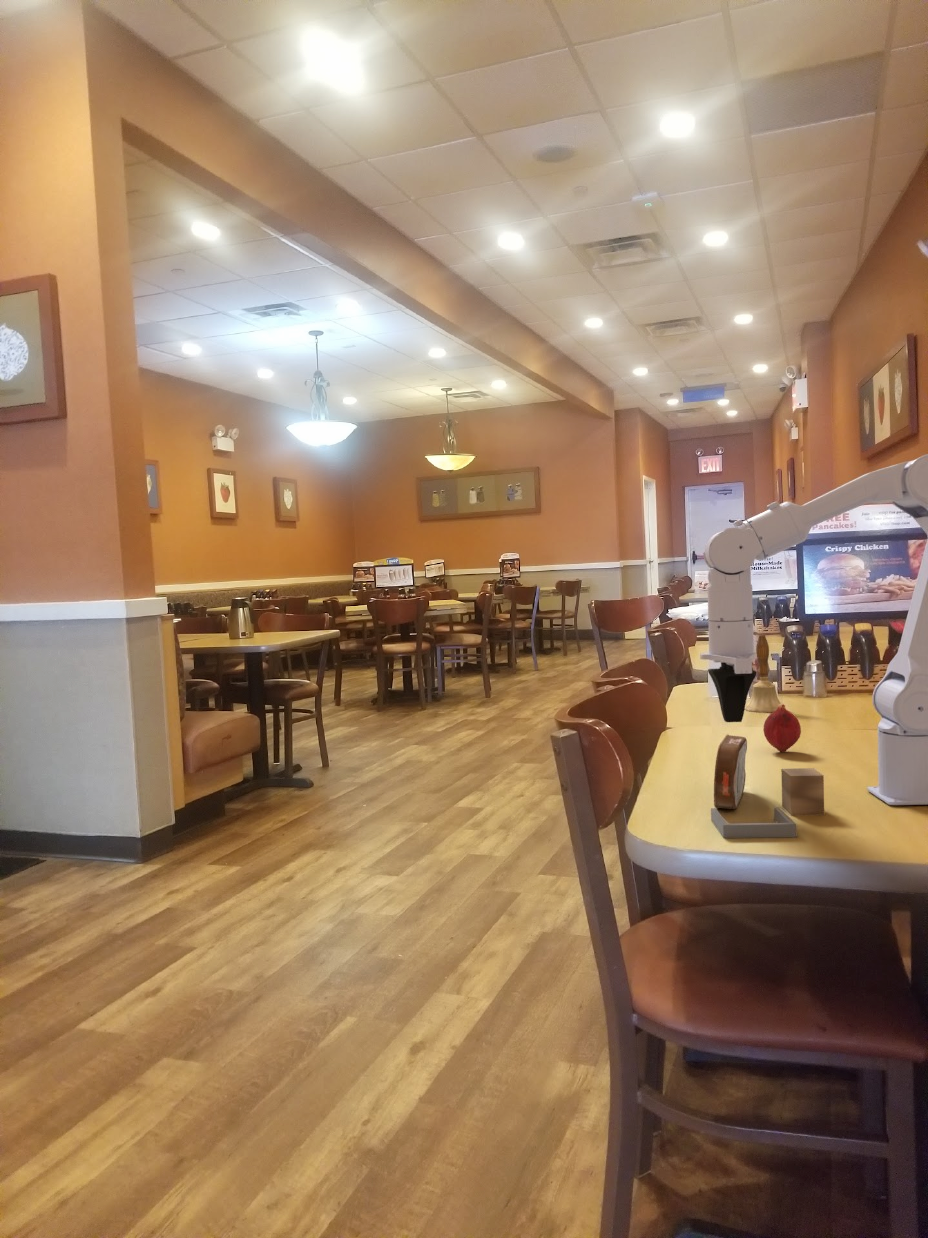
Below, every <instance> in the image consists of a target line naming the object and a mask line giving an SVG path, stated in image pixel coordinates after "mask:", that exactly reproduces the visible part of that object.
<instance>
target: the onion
mask: <svg viewBox="0 0 928 1238" xmlns="http://www.w3.org/2000/svg"><path fill="white" fill-rule="evenodd" d="M801 727H802V726H801V723H800V721H799V719H798V718H797V717H796V715H794V714H793V713H792V712H791V711H789V710H788V709H786V705H785V704H784V703H781V704H779V705H778V708H777V710H776V711H774V712H772V713H769V715H768V716H767V718H766V719H765V721H764V724H763V734H764V737H765V739H766V741H767V742H768V743H769V744H770V746H772V747H773V748H775V749H776V750H777V751H779V752H781V753H785V752H787V751H788V750H789V749H790V748H791V747H793V746H794V745H795V744H796V743H797V742H798V741H799V739H800V738H801V733H802V728H801Z"/></svg>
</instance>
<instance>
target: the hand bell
mask: <svg viewBox="0 0 928 1238" xmlns="http://www.w3.org/2000/svg"><path fill="white" fill-rule="evenodd" d="M769 646H770V645H769V643H768V640H767V637H766V634H759V635H758V638H757V642H756V646H755V647H756V648H755V655H756V657H757V661H758V664H759V681H757V682H756V683H754V684H753V685H752V694H751V697H750V700H749V701H748V703H746V704H745V710H744V711H747V712H750V713H761V714H763V713H764V714H766V713H767V714H768V713H769V714H771V713H773V712H774V711H776V710H777V708H778V705H779V704H782V703H781V701H780V699H779V697H778V693H777V689H776V685H775V684H774V683H773V682H771V681H770V680H769V675H768V661H769V658H770V647H769Z"/></svg>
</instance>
